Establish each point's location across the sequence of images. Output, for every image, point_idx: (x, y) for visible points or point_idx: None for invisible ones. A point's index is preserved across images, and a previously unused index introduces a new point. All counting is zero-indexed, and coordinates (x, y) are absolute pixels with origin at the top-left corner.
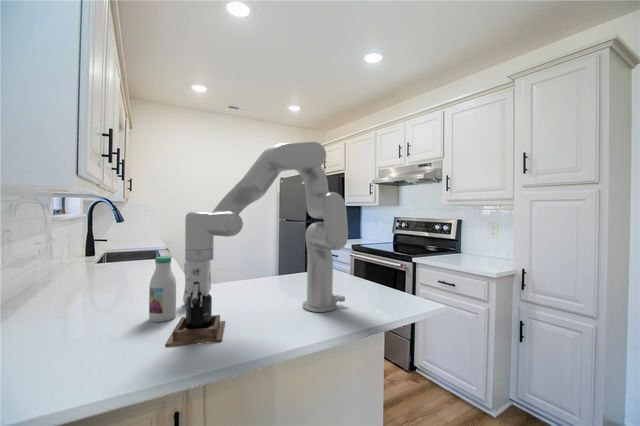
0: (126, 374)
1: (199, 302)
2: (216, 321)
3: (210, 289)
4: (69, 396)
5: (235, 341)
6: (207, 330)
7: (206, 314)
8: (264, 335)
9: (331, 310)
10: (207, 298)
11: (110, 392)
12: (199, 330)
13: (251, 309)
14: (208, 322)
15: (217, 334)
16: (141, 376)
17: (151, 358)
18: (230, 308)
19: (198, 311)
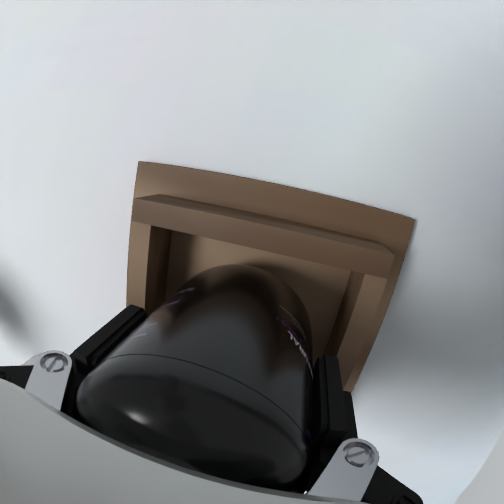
0: (435, 464)
1: (414, 497)
2: (255, 236)
3: (43, 408)
4: (439, 498)
5: (431, 151)
6: (374, 306)
7: (300, 348)
8: (403, 12)
9: None
10: (276, 449)
11: (477, 461)
12: (359, 348)
13: (47, 45)
14: (290, 299)
15: (336, 230)
16: (467, 439)
17: (392, 443)
18: (8, 139)
19: (353, 433)
